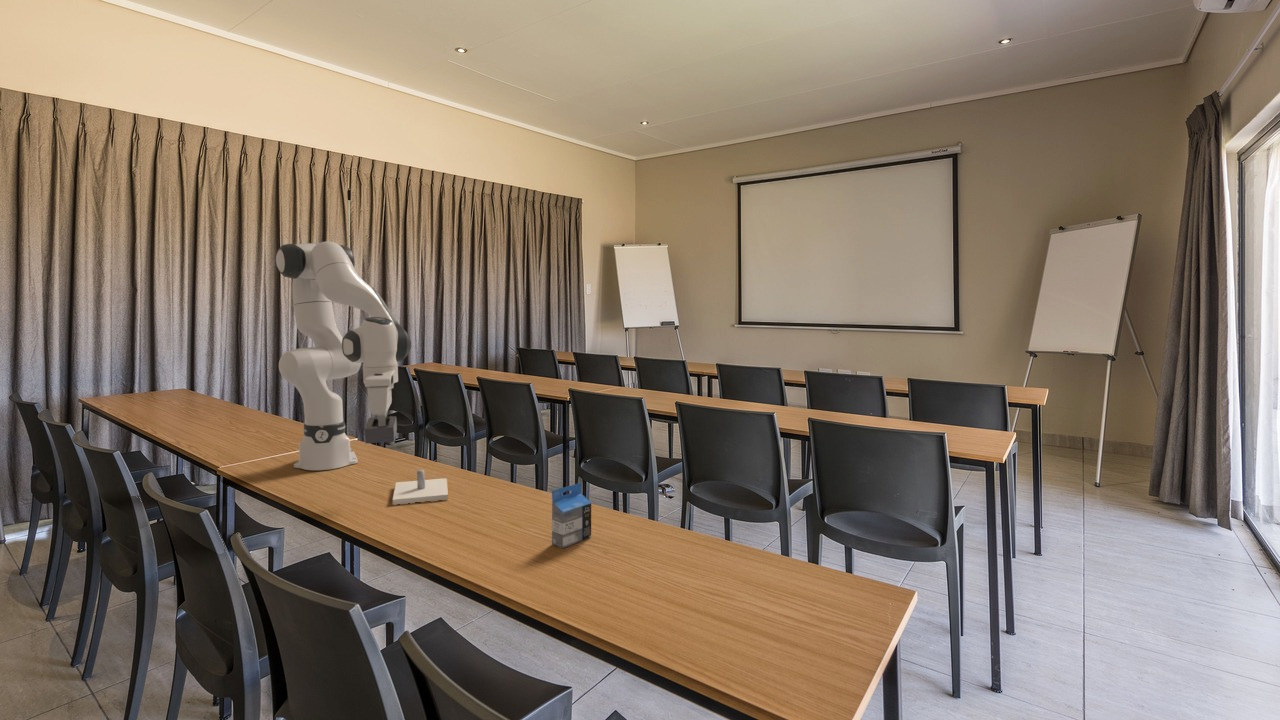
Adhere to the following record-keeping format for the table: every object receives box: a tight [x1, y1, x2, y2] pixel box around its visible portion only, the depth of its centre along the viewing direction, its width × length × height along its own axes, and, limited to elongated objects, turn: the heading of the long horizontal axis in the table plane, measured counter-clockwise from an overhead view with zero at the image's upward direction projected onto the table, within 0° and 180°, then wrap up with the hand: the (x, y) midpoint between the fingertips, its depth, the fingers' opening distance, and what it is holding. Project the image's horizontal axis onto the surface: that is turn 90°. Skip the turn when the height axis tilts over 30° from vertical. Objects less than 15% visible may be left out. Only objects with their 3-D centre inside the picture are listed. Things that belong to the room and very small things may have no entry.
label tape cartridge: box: [551, 482, 592, 549], centre depth 137 cm, size 9×4×12 cm, turn 138°
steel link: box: [364, 415, 398, 444], centre depth 164 cm, size 10×7×4 cm
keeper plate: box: [392, 469, 449, 506], centre depth 170 cm, size 16×14×6 cm
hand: (382, 425), depth 167 cm, fingers closed on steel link, 2 cm apart
